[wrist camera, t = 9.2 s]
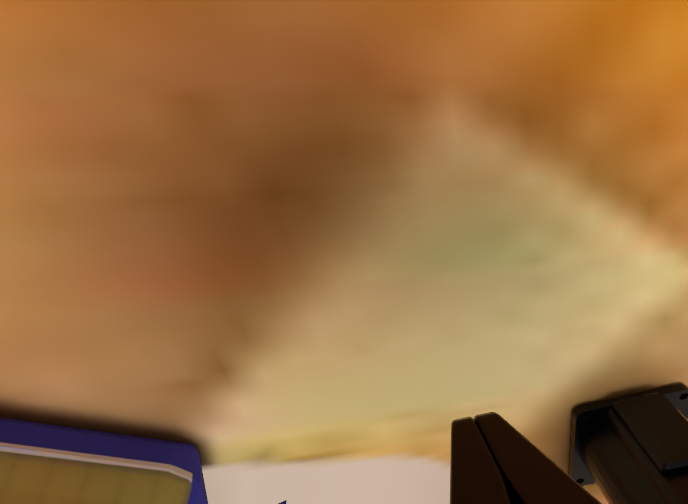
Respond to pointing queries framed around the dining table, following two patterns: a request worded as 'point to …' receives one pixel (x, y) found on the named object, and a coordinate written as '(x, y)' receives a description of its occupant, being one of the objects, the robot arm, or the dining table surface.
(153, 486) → the blue and olive box
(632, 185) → the dining table surface
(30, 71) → the dining table surface
